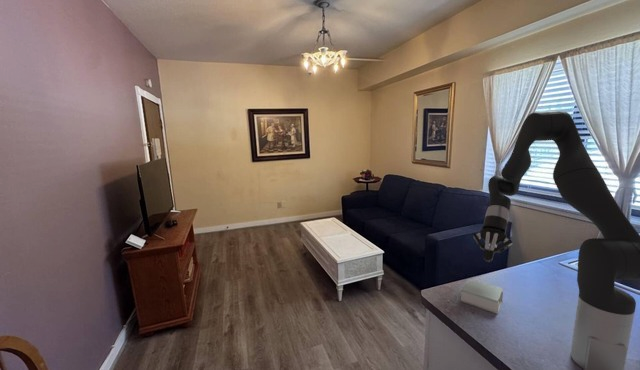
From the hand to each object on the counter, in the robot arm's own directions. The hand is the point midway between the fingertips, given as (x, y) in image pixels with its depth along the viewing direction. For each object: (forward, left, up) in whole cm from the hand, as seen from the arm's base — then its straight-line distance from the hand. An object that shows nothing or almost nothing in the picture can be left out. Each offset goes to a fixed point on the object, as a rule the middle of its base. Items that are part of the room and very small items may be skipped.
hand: (487, 260), depth 95 cm
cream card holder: (-6, +1, -13) cm, 14 cm away
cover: (-6, +1, -9) cm, 11 cm away
